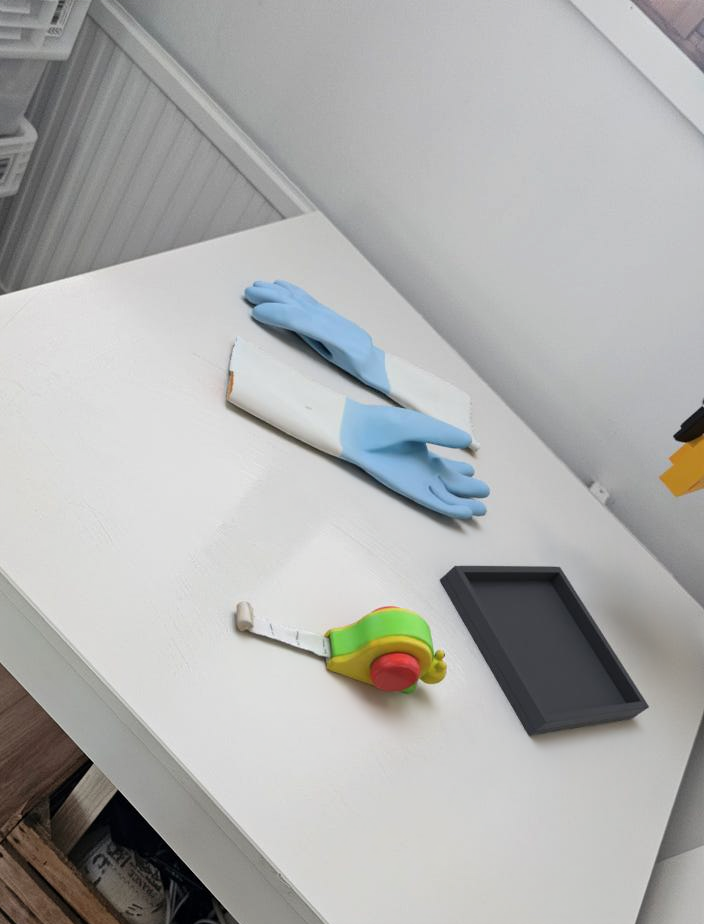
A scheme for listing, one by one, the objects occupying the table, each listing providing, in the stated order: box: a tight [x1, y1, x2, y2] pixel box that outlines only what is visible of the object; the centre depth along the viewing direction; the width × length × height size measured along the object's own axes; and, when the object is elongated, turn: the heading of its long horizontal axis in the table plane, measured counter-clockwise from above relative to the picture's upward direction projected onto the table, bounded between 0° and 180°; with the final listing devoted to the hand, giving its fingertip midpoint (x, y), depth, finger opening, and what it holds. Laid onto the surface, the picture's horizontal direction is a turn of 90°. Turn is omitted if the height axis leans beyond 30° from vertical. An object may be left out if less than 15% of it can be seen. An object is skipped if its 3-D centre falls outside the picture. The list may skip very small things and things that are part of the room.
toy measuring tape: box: [236, 601, 448, 694], centre depth 84 cm, size 6×20×7 cm, turn 91°
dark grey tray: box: [439, 565, 650, 736], centre depth 102 cm, size 18×18×2 cm
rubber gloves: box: [226, 279, 491, 520], centre depth 112 cm, size 27×33×6 cm
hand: (699, 461), depth 104 cm, fingers closed on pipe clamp, 5 cm apart
